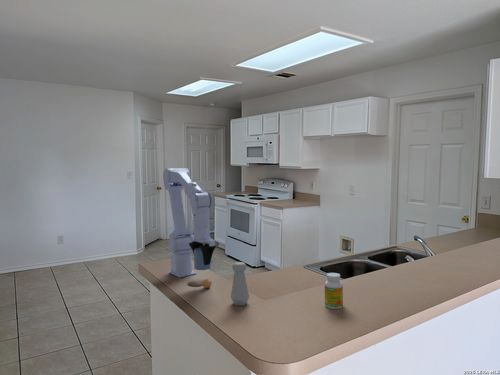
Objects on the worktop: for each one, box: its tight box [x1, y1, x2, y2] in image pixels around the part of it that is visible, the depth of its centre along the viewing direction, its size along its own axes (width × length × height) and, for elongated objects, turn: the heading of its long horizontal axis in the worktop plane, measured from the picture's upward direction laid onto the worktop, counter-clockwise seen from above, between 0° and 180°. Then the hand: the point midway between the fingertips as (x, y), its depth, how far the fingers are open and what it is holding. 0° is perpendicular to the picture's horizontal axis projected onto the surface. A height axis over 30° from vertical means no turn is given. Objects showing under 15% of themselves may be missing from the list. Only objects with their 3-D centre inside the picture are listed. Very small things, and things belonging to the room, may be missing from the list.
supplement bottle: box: [324, 272, 344, 310], centre depth 107 cm, size 5×5×10 cm
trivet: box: [187, 279, 205, 287], centre depth 133 cm, size 7×7×1 cm
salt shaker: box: [230, 261, 250, 307], centre depth 111 cm, size 6×6×13 cm
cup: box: [193, 247, 212, 271], centre depth 129 cm, size 6×6×7 cm
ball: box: [202, 278, 212, 289], centre depth 127 cm, size 3×3×3 cm
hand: (202, 262), depth 129 cm, fingers closed on cup, 6 cm apart
